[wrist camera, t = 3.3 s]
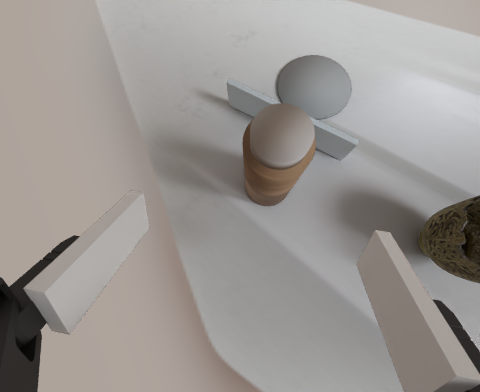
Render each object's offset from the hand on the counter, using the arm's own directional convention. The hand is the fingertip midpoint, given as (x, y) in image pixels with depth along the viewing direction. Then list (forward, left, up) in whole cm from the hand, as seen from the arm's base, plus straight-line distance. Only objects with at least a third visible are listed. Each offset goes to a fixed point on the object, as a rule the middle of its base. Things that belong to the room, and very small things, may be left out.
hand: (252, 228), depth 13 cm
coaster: (+2, -20, -12) cm, 23 cm away
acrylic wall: (+3, -13, -12) cm, 18 cm away
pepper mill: (+1, -6, -12) cm, 13 cm away
